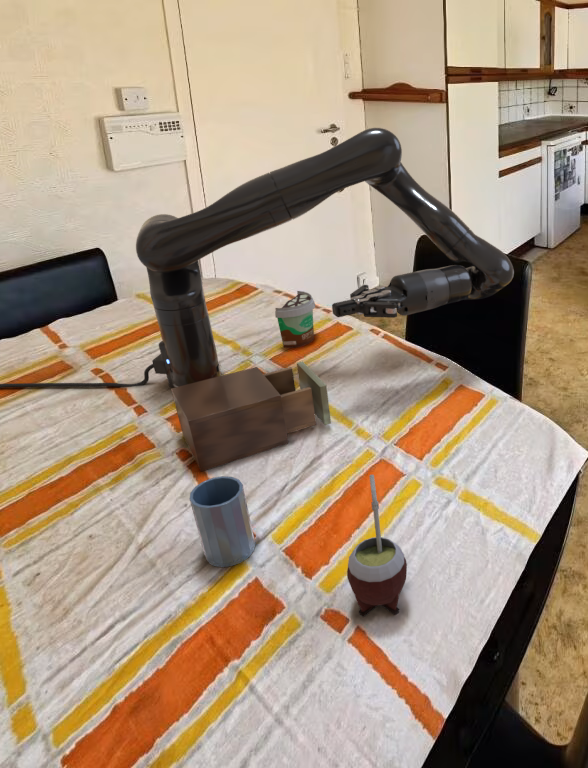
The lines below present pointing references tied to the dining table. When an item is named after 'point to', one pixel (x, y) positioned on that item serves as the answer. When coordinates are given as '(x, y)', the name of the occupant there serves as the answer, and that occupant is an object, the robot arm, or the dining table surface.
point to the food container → (296, 320)
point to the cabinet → (230, 417)
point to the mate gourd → (377, 569)
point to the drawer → (301, 397)
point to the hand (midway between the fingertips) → (334, 310)
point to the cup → (223, 521)
